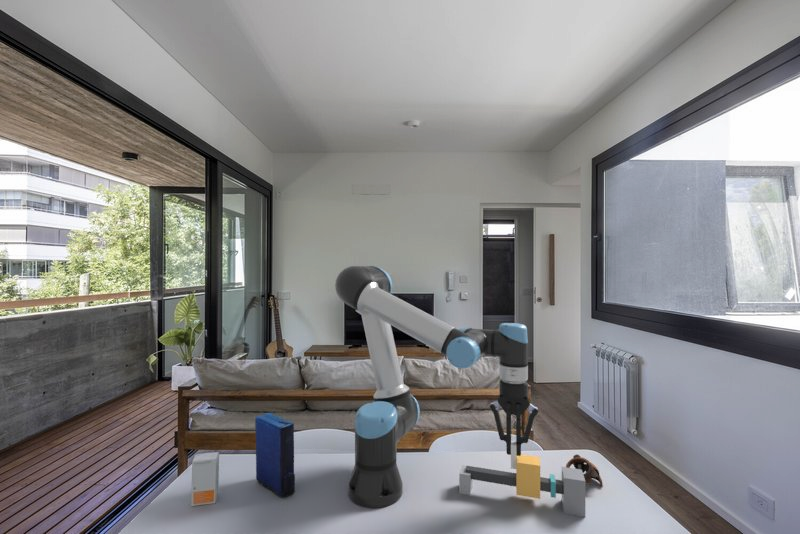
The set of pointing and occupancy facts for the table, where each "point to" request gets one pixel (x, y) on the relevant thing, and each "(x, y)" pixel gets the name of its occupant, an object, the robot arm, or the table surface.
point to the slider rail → (568, 486)
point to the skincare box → (205, 478)
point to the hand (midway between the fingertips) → (513, 466)
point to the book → (275, 454)
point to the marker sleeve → (528, 476)
